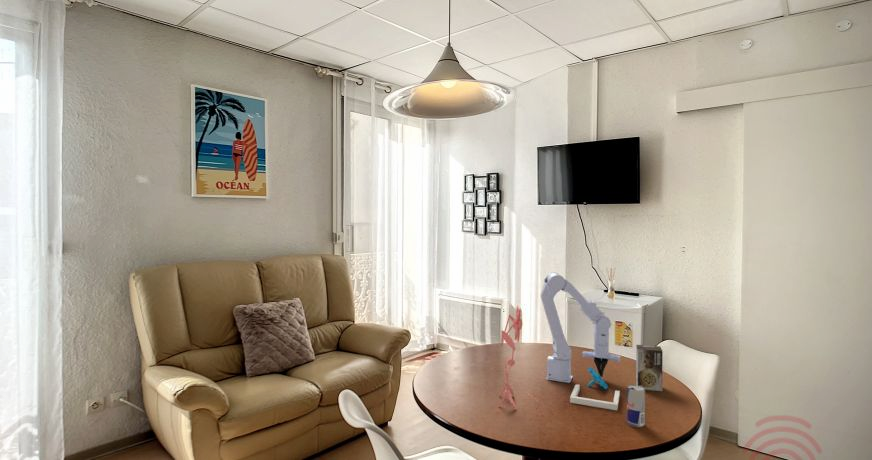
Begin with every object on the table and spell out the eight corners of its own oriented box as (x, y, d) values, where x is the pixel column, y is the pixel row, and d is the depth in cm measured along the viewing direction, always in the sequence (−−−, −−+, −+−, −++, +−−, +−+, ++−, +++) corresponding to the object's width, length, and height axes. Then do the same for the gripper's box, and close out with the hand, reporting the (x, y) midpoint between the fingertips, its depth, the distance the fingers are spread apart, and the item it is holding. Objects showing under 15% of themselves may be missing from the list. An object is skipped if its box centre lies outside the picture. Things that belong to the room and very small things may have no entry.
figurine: (495, 416, 154) (499, 313, 153) (497, 388, 179) (500, 300, 178) (542, 421, 152) (546, 316, 150) (537, 391, 177) (540, 302, 176)
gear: (608, 389, 174) (589, 368, 178) (596, 399, 176) (578, 377, 179) (610, 383, 184) (592, 363, 188) (599, 392, 186) (581, 372, 189)
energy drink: (623, 420, 152) (624, 384, 151) (639, 420, 152) (639, 384, 152) (631, 428, 146) (632, 391, 146) (647, 427, 147) (648, 390, 146)
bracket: (570, 402, 166) (570, 397, 166) (575, 389, 179) (575, 384, 179) (617, 410, 159) (617, 404, 159) (619, 396, 172) (619, 391, 172)
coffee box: (660, 386, 183) (661, 346, 182) (662, 391, 176) (663, 350, 176) (635, 383, 186) (636, 343, 185) (636, 388, 179) (637, 348, 179)
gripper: (620, 343, 189) (620, 375, 190) (584, 339, 195) (583, 370, 196) (619, 347, 183) (619, 381, 183) (582, 343, 189) (581, 375, 189)
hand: (600, 376), depth 189 cm, fingers closed
